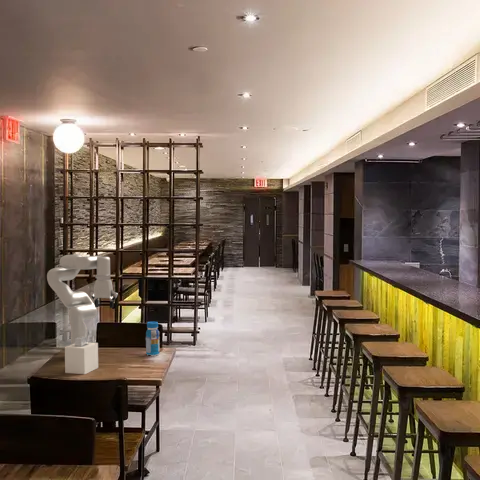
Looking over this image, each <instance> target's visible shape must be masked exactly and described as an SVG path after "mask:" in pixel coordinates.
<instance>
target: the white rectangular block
mask: <svg viewBox="0 0 480 480" xmlns="http://www.w3.org/2000/svg"><path fill="white" fill-rule="evenodd" d="M87 342H88V336H87V337H78V338H76V339H75V346H77V347H83V346H86V345H87Z"/></svg>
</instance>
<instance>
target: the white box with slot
mask: <svg viewBox="0 0 480 480" xmlns="http://www.w3.org/2000/svg"><path fill="white" fill-rule="evenodd" d="M96 369H97V370H98V369H99V343H98V342H88V341H87V345H86V346H83V347H77V346H75V344H72V345H71V344H70V345H67V346H65V347H64V371H65V372H64V373H65V374H75V375H76V374H77V375H86V374H88V373H90V372H92V371H95V370H96Z"/></svg>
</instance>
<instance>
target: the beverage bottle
mask: <svg viewBox="0 0 480 480" xmlns="http://www.w3.org/2000/svg"><path fill="white" fill-rule="evenodd" d="M146 328H147V330H146V332H145V347H146V348H145V351H146V352H145V354H147V355H146V356H148V355H151V357H156V355H157V356H159V355H160V338H161V337H160V331H159V329H158V328H159V323H158V321H147V323H146Z"/></svg>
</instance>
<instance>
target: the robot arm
mask: <svg viewBox="0 0 480 480" xmlns="http://www.w3.org/2000/svg"><path fill="white" fill-rule="evenodd" d="M59 265H60V267H54V268H51V269H50V270H48V271H47V274H46V279H47V283H48V285H49V286H50V288H51V289H52V291H54V292H55V294H56V295H57V297H58V299H59V300H60V301H61V302H62V304H63V305H64V307H65V308H67V309H69V310H68V318H69V323H70V343H71V344H70V345H72V344H75V339H76V338H78V337H87V338H88V326H87V324H86V323H85V321H88V320H93V319H95V318H96V317H97V315H98V309H97V308H99V305H100V303H99V301H100V300H99V299H108V300H109V309H113V308H114V305H115V300H116V299H117V297H118V295H119V294H118V292H116V291H114V290H113V288H114V287H113V283H112V279H111V258H110V256H102V255H87V256H83V255H81V254H78V253H77V254H75V253H74V254H66V255H63V256H61V258H60V259H59ZM93 269H94V270H95V269H96V275H95V276H94V277H95V279H96V280H95V282H94V288H93V289H94V290H93V291H91V292H90V293H89V294H90V296H91V297H90V296H89V295H88V294H87V292H85V291H81V290H79V291H73V290H72V289H71V287H70V286H69V284H67V283H66V282H65V281H71V280H74V279H76V277H77V276H78V274H79V272H80V271H81V270H93ZM91 298H92V299H93V300H92V299H91Z"/></svg>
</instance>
